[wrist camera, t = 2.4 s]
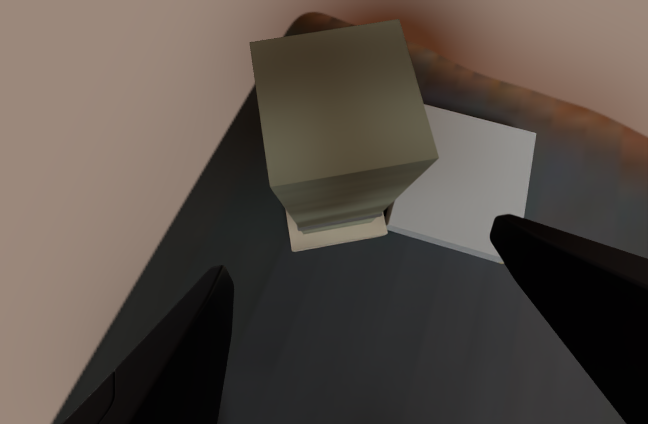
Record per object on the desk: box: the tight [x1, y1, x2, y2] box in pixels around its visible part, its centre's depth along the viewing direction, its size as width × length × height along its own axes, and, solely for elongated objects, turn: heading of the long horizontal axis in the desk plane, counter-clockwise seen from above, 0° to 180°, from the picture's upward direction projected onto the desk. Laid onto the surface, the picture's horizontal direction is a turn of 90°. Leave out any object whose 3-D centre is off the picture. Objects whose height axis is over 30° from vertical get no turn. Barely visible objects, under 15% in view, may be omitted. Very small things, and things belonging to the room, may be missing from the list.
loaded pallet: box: [250, 19, 439, 252], centre depth 14 cm, size 7×7×13 cm
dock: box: [385, 104, 536, 264], centre depth 20 cm, size 9×10×2 cm
